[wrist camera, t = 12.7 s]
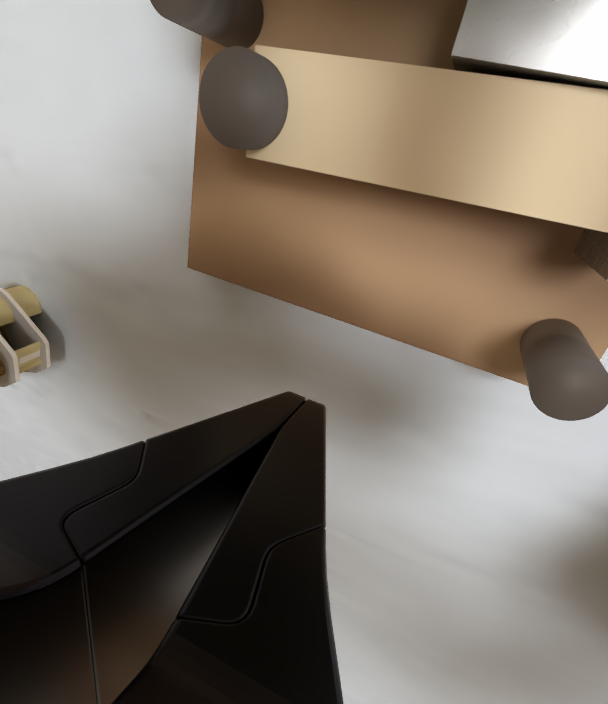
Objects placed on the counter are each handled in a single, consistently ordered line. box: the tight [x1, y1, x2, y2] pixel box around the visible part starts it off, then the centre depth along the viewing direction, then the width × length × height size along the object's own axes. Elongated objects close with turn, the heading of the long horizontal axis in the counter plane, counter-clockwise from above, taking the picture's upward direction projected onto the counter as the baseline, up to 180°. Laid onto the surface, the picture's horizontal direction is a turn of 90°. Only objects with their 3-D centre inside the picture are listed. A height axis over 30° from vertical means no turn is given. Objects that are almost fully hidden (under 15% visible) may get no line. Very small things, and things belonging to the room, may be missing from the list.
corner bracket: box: [451, 0, 608, 281], centre depth 10 cm, size 6×6×4 cm
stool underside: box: [150, 0, 608, 421], centre depth 13 cm, size 11×17×5 cm, turn 77°
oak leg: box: [199, 45, 608, 233], centre depth 12 cm, size 11×3×4 cm, turn 80°
